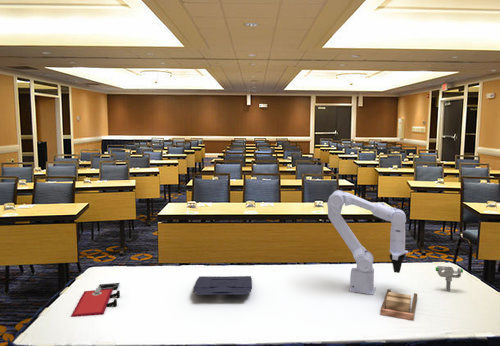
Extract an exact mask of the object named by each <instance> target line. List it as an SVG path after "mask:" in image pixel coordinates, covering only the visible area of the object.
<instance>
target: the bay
mask: <svg viewBox="0 0 500 346" xmlns="http://www.w3.org/2000/svg"><path fill="white" fill-rule="evenodd" d="M389 292H392V290H391V289H389V288H388V289H387V290H386V293H385V296H384V298H383V301H382V304H381V306H380V310H379V311H380V312H379V314H380V315H382V316H385V317H386V316H387V317H391V318H397V319H403V320H408V321H414V319H415V314H416V308H417V307H416V306H417V301H418V293H415V292H414V293H413V298H412V301H411V308H410V313H406V312H401V311H395V310H389V309H386V299H387V295H388V293H389Z"/></svg>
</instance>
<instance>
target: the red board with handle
mask: <svg viewBox="0 0 500 346" xmlns="http://www.w3.org/2000/svg"><path fill="white" fill-rule="evenodd" d="M119 285H120V282H112V283H101V284H98V287H97V288H96V289H94V290H84V291H83V294H82V295H81V297H80V299H79V300H78V302H77V304H76V305H75V307H74V309H73V311H72V314H71V315H70V316H71V318H73V317H75V318H77V317H89V316H100V315H101V316H103V315H104V314H105V311H106V309H107V308H109V307H112V306H113V307H114V308H117V306H118V302H117V301H118V300H117V299H120V298H121V297H120V296H121V292H120V290H117V289H119ZM115 289H116V290H117V291H116V292H115V293H113V291H114V290H115ZM114 297H116V299H115V298H114ZM112 298H114V299H113V301H111V302H109V301H110V299H112Z"/></svg>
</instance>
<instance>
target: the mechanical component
mask: <svg viewBox="0 0 500 346" xmlns="http://www.w3.org/2000/svg"><path fill="white" fill-rule="evenodd" d="M435 272H437V275H438V276H439V277H440V278H445V279H444V280H445V284H446V286H445V287H446V288H445V290H446V292H450V291H451V282H452V281H453V279H454V278H455V279H459V278H461V276H462V273H464V270H463V268H460V267H458V268H457V270H455V269H454V268H453V267H452V266H447V265H446V266H443V265H437V266H436V267H435Z"/></svg>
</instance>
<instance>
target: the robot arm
mask: <svg viewBox="0 0 500 346" xmlns="http://www.w3.org/2000/svg"><path fill="white" fill-rule="evenodd" d="M327 199H328V200H327V203H326V205H327V217H328V219H329V221H330V222H331V224H332V226H334V227H333V228H335V229H336V231H337V232H338V234H339V235H340V237H341V238H342V240H343V241H344V243H345V244H346V246H347V247H348V249H349V250H350V251H351V253H352V256H353V259H354V260H355V263H356V267H352V268H351V269H350V277H349V281H350V282H349V291H350V292H353V293H360V294H365V295H366V294H367V295H370V296H371V295H374V293H375V291H376V288H377V287H376V286H374V285H375V283H374V281H375V280H374V279H375V278H374V277H375V268H374V267H373V266H374V265H373V263H374V260H375V259H374V255H373V253H371V252H370V251H368V250H367V249H366V247H364V246H363V245H362V244H361V242H360V241H359V239H358V238H357V237H356V235H355V233H354V232H353V231H352V229H351V228H350V227H349V225H348V223H347V222H346V220H345V219H344V217H343V216H342V214H341V213H342V210H343V206H345V207H347V206H351V205H353V206H356V207H359V208H362V209H364V210H367V211H370V212H371V214H372V216H375V217H377V218H378V219H382V220H384V221H387V222H390V223H391V226H390V235H389V237H390V238H389V240H390V241H389V253H390V254H389V259H390V261H391V264H392V271H393V273H398V274H399V273H401V268H402V263H403V261H404V259H405V257H406V255H405V254H408V253H409V250H406V222H407V216H406V213H405V211H404V210H402V209H400V208H396V207H391V206H389V205H386V204H385V202H382V201H381V202H375V203H373V202H371V201H368V200H366V199H364V198H361V197H359V196H357V195H355V194H352V193H350V192H347V191H343V190H342V189H341V190H340V189H337V190H335V191H333V192H332V193H331V195H329V197H328V198H327Z"/></svg>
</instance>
